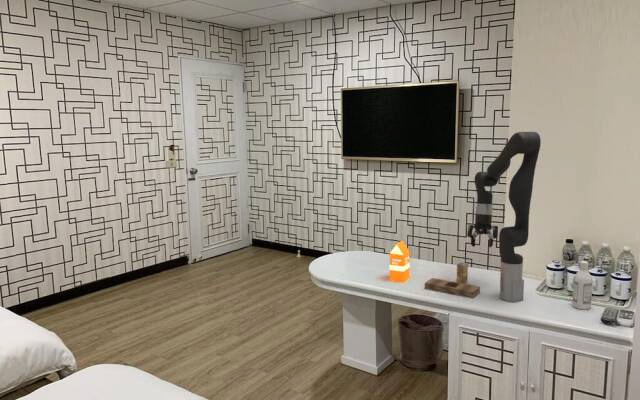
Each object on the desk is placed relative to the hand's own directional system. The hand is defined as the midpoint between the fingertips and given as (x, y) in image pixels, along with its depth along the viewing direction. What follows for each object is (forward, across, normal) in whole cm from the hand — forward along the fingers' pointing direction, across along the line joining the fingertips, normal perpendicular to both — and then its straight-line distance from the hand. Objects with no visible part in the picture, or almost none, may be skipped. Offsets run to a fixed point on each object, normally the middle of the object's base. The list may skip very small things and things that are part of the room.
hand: (481, 246), depth 228 cm
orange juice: (+22, -33, +21) cm, 45 cm away
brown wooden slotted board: (+22, -14, -1) cm, 26 cm away
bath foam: (+21, +32, -31) cm, 49 cm away
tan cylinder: (+20, -5, +8) cm, 22 cm away
